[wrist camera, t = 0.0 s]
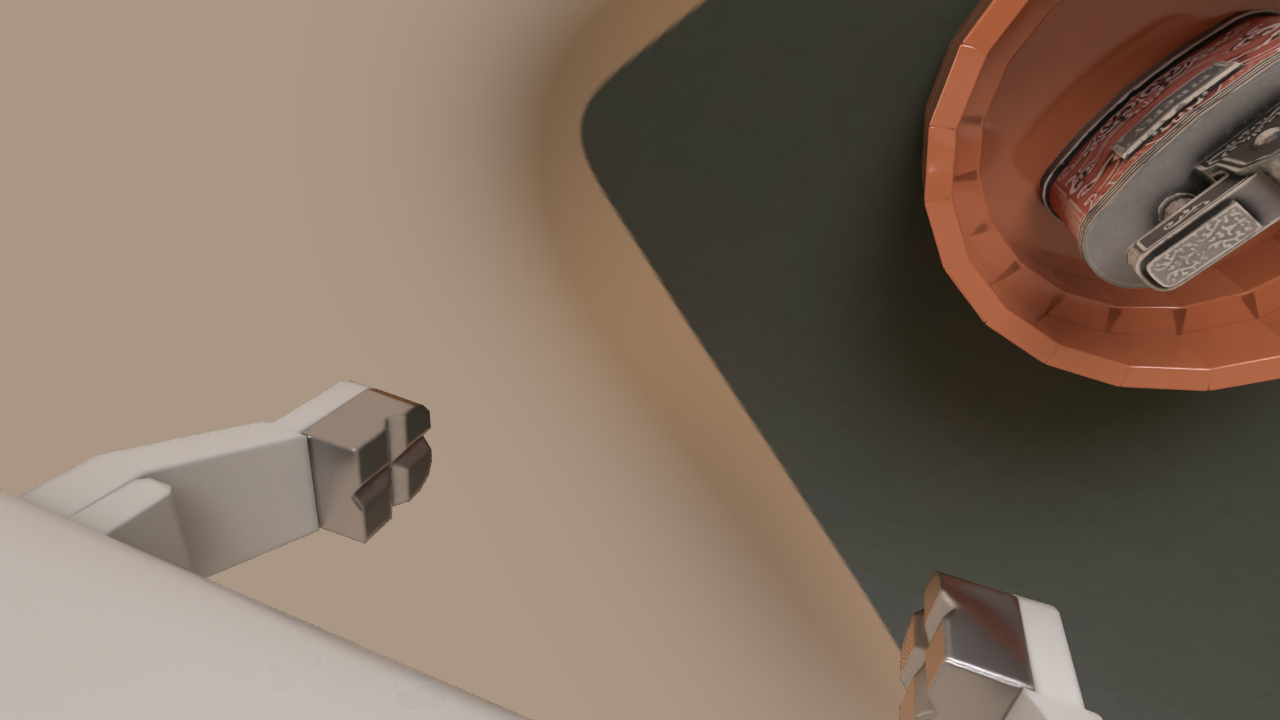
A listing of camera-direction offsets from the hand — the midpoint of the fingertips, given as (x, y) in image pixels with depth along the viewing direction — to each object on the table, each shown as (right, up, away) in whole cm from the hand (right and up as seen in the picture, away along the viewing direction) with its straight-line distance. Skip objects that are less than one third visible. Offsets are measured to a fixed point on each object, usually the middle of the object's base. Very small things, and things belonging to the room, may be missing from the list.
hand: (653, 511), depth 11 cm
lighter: (+17, +10, +13) cm, 24 cm away
